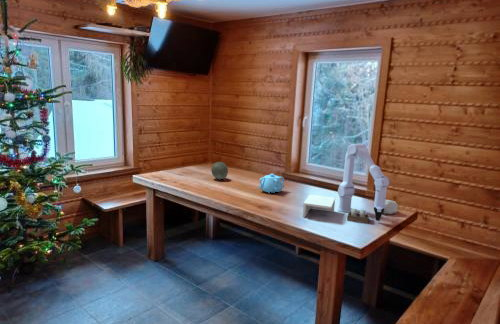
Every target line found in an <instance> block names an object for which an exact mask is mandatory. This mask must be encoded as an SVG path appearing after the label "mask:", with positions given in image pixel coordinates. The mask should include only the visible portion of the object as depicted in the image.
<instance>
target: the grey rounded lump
mask: <svg viewBox="0 0 500 324" xmlns="http://www.w3.org/2000/svg"><path fill="white" fill-rule="evenodd" d="M385 205H386V206H387V208H386V207H385V208H384V212H383V213H382V215H383V214H385V215H392V214H395V213H397V211H398V209H399V207H398V206H399V204H398V203H397V201H394V200H392V199H391V200H390V199H385Z"/></svg>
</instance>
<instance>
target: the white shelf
mask: <svg viewBox="0 0 500 324" xmlns="http://www.w3.org/2000/svg"><path fill="white" fill-rule="evenodd" d="M335 201H336V198H335V197H330V196H324V195H323V196H322V195H314V194H309V195H308V196H307V198H306V199H305V201H304V202H303V204H302V218H306V216H307V214H308V213H309V211H310V210H312V209H313V210H317V211H319V210H320V211H323V212H324V211H325V212H331V213H332V212H333V213H334V212H335V203H336V202H335Z"/></svg>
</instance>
